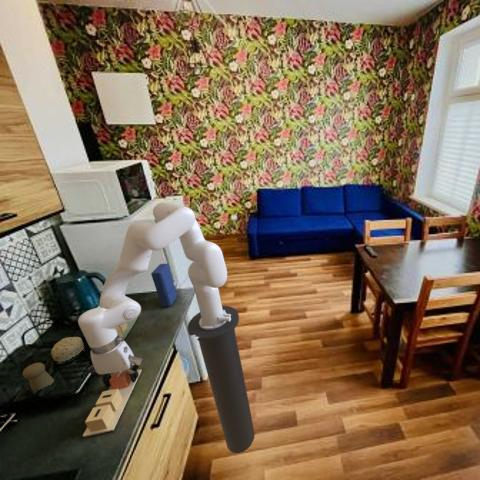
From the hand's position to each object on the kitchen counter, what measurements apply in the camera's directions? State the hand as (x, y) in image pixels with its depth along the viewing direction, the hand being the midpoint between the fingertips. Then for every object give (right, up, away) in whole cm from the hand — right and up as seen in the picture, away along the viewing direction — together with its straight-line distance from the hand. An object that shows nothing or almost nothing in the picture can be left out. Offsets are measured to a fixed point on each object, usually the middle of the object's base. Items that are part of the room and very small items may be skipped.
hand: (122, 381), depth 94 cm
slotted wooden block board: (+1, -4, -5) cm, 6 cm away
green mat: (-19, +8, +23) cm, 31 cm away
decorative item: (-30, +3, +13) cm, 33 cm away
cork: (-26, -3, -1) cm, 27 cm away
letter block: (0, -1, 0) cm, 1 cm away
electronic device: (-9, +18, +45) cm, 49 cm away
